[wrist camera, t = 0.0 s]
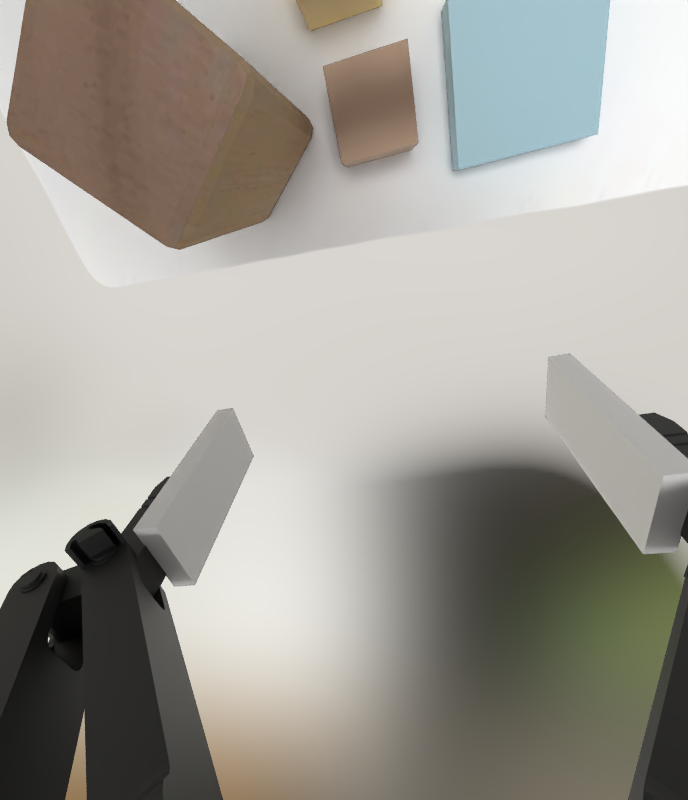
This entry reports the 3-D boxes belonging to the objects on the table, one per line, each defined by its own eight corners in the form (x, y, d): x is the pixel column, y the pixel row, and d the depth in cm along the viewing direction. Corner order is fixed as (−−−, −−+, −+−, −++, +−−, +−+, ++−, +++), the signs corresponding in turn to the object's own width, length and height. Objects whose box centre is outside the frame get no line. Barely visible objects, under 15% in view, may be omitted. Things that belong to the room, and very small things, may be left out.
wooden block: (177, 158, 36) (-8, 137, 19) (221, 44, 31) (30, -125, 14) (266, 225, 38) (174, 260, 21) (318, 127, 34) (257, 70, 17)
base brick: (441, 11, 29) (447, -5, 27) (593, -40, 27) (615, -63, 25) (452, 170, 35) (458, 170, 32) (580, 138, 33) (597, 134, 30)
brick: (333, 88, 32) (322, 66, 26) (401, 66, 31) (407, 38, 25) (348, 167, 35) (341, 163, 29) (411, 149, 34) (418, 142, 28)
